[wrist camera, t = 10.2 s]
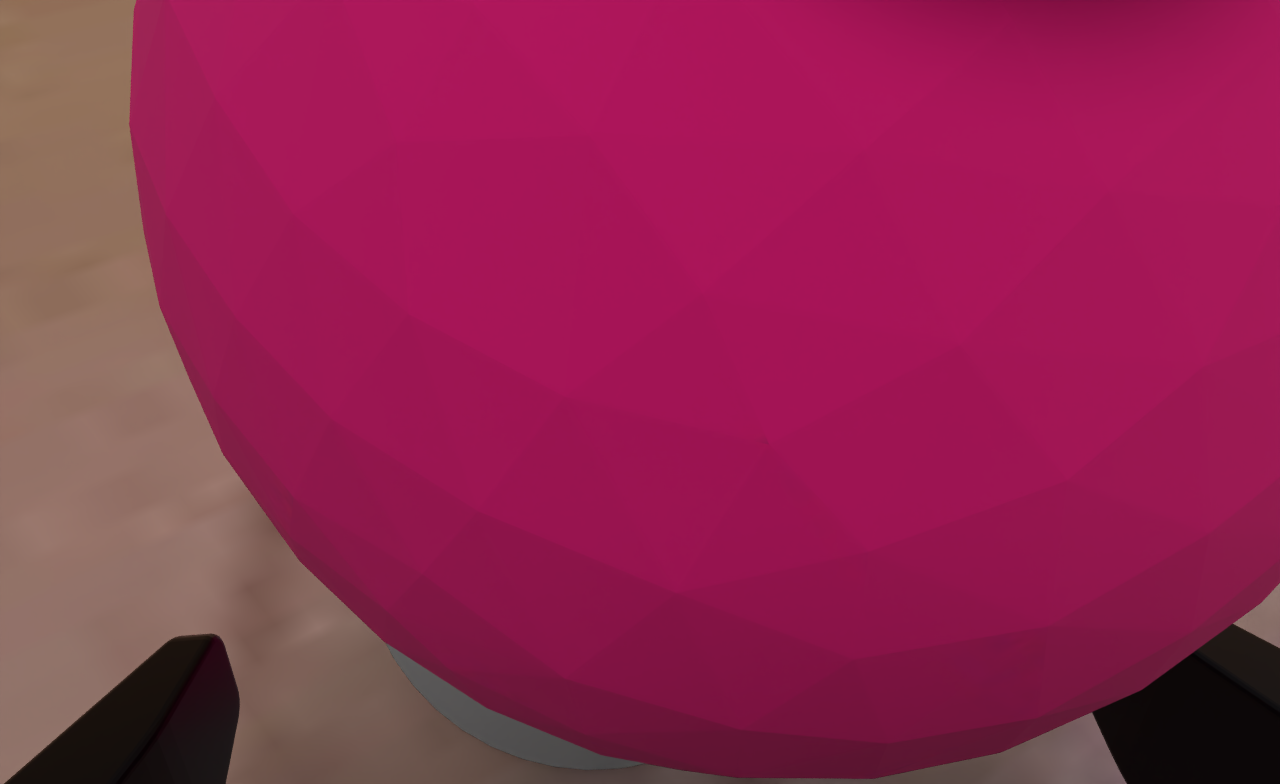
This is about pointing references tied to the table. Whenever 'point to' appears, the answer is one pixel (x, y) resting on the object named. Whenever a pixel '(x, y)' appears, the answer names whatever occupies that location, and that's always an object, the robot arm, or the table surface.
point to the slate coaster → (501, 725)
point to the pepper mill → (740, 347)
